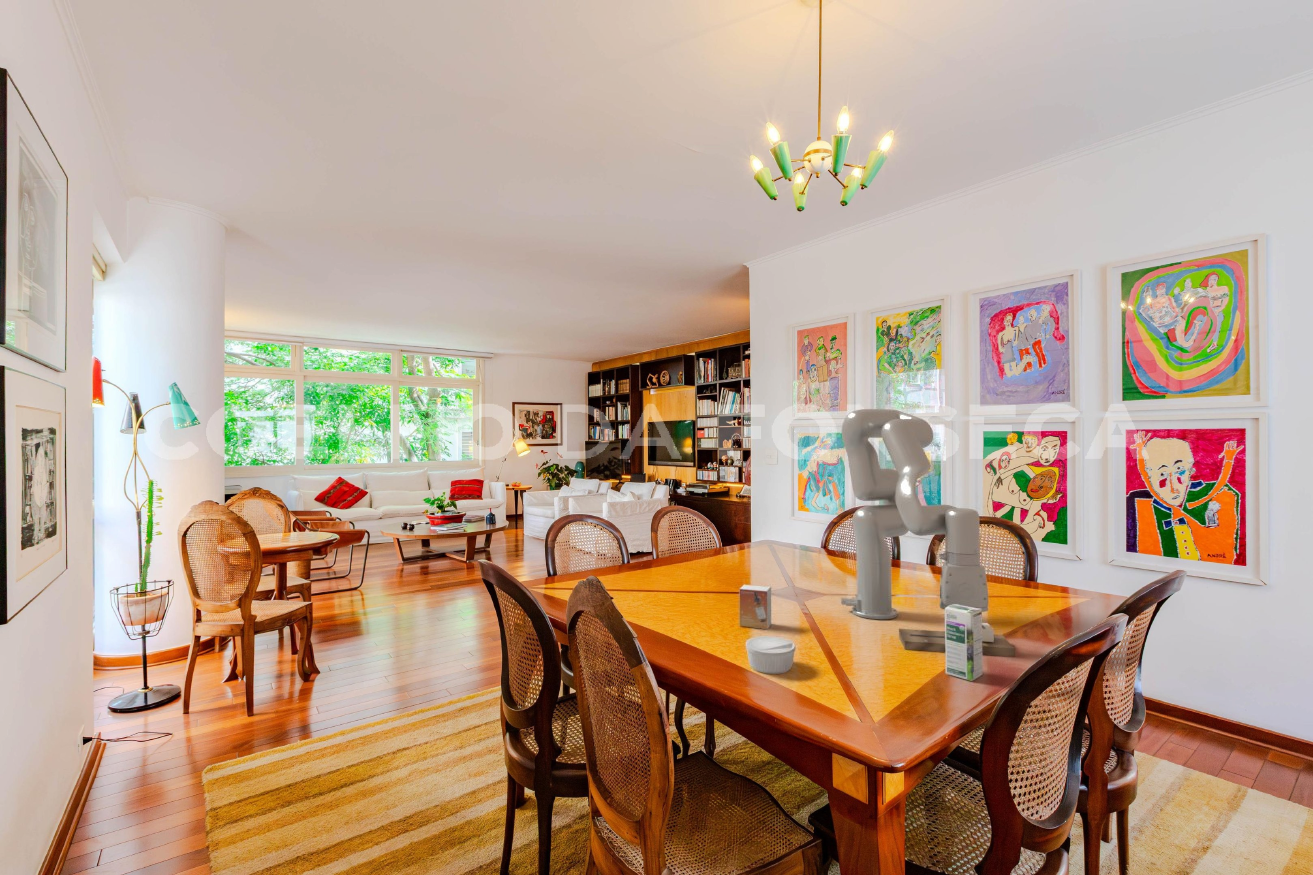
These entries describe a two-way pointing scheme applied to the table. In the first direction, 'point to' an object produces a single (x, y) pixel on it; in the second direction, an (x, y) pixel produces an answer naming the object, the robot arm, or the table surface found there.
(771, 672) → the ramekin
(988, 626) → the fader knob
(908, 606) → the table surface
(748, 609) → the small box
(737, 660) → the table surface
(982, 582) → the robot arm
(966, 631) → the syrup box
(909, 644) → the fader board
